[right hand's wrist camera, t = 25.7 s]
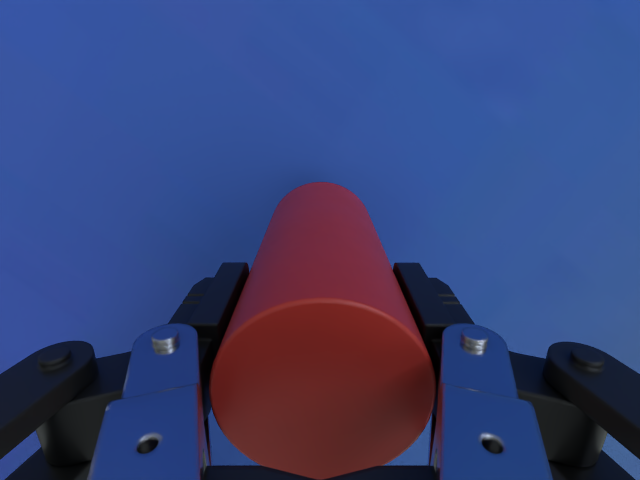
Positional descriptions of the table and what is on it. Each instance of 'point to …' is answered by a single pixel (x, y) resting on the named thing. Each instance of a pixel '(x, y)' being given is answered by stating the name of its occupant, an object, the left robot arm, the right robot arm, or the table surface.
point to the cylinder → (322, 346)
